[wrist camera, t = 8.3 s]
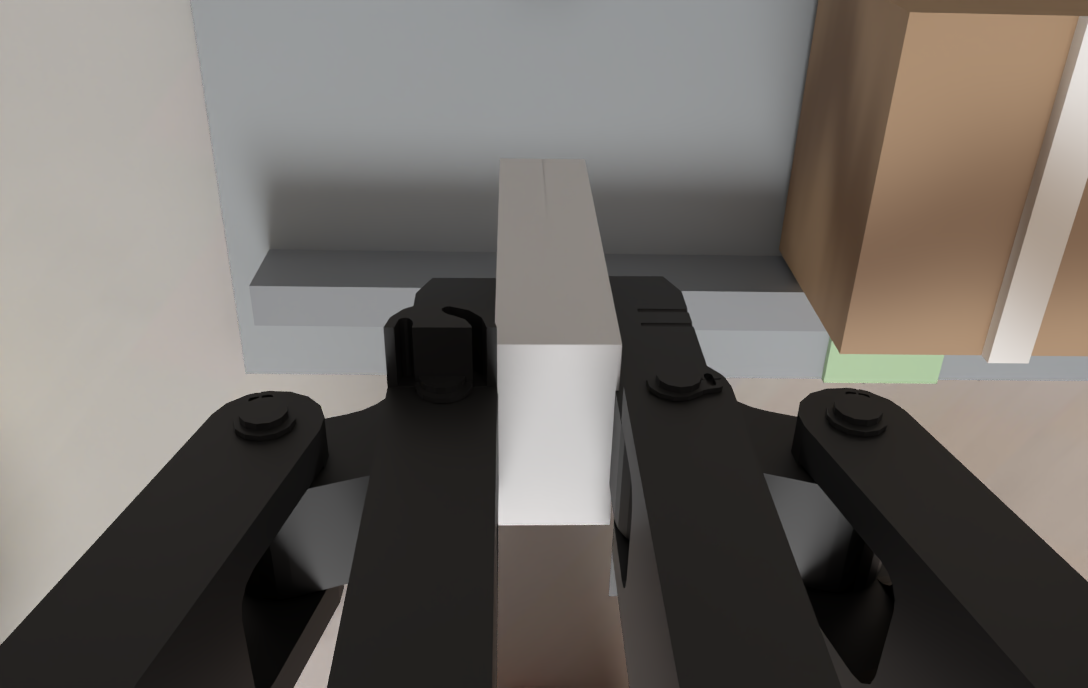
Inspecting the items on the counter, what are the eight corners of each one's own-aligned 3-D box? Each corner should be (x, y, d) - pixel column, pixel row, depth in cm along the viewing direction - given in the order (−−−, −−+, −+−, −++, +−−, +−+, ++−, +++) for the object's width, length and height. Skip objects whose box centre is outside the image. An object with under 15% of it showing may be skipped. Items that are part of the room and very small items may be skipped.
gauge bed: (169, -267, 19) (-3, -301, 13) (1541, -224, 20) (2014, -236, 14) (256, 350, 26) (173, 526, 19) (1271, 360, 27) (1502, 531, 20)
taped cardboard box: (823, -34, 20) (916, 15, 15) (1125, -27, 20) (1307, 24, 15) (779, 249, 23) (844, 362, 18) (1040, 253, 23) (1170, 365, 19)
